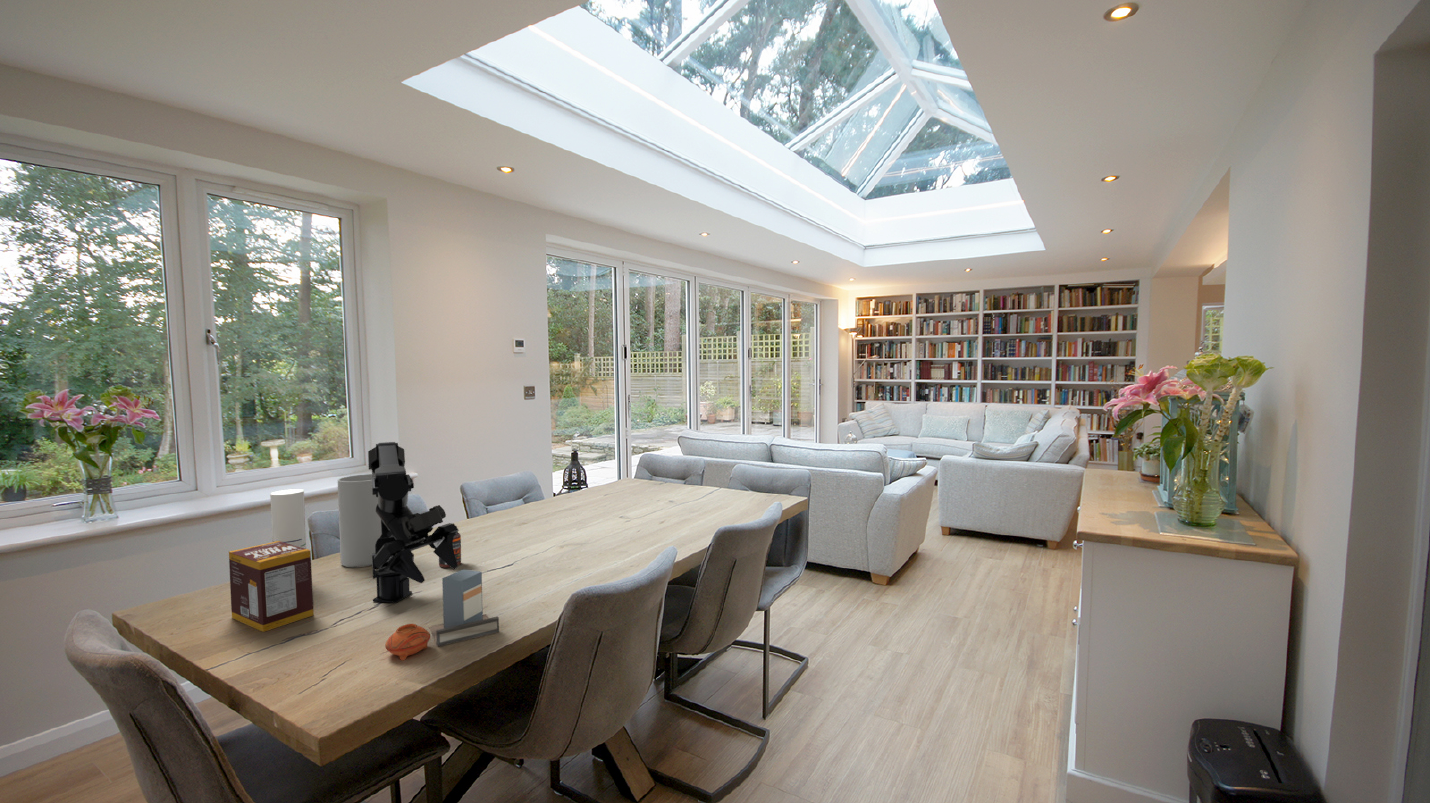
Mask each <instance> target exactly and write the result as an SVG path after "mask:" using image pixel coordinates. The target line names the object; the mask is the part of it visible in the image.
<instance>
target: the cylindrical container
mask: <svg viewBox="0 0 1430 803" xmlns="http://www.w3.org/2000/svg"><path fill="white" fill-rule="evenodd" d="M269 499H270V518H271V536H272V537H271V538H272V539H271V540H272V541H271V542H275V541H281V542H284V543H287V544H291V545H294V546H298V547H301V548H305V549H307V534H306V531H307V530H306V508H305V505H306V504H305V490H304V489H303V488H302V489H301V488H300V489H299V488H297V489H296V488H295V489H293V488H291V489H283V490H276V491H272V492H270V498H269Z"/></svg>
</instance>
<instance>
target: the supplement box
mask: <svg viewBox="0 0 1430 803" xmlns="http://www.w3.org/2000/svg"><path fill="white" fill-rule="evenodd" d="M311 553H312V552H311V549H309V548H306V549H305V548H301V547H298V546H294V545H291V544H287V543H284V542H281V541H275V542H272V541H270V542H267V543H263V544H259V545H258V544H257V545H253V546H249V547H244V548H240V549H239V548H238V549H235V550H230V551H228V560H229V561H228V563H229V564H228V565H229V586H230V587H229V588H230V605H231V606H230V607H231V608H230V609H231V619H234V620H236V621H238V622H240V623H242V624H244V625H247V626H249V627H251V628H253V629H255V630H257V631H260V632H261V633H262V632H263V633H264V632H268V631H271V630H273V629H277V628H280V627H282V626H286V625H289V624H291V623H294V622H297V621H300V620H305V619H306V618H310V617H312V616H314V614H315V613H314V596H313V594H314V593H313V591H314V590H313V576H312V575H313V574H312V573H313V572H312V554H311Z"/></svg>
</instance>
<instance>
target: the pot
mask: <svg viewBox="0 0 1430 803" xmlns="http://www.w3.org/2000/svg"><path fill="white" fill-rule="evenodd" d="M430 640H431V632H430V631H428V629H426V628H425V627H423V626H420V625H418V624H416V623H407V624H405V625H401V626H399V627H397V629H396V630H395V631H394V632H393V633H392V634H391V635H390V636H389V637H388V638H387V640H386V642H385V645H384V647H385V649H386V650H387V652H389V653H390V654H392V655H395V656H398V657H399V659H400V660H401V661H404V660H406V659H408V658H407V657H409V656H412V655H415V654H417V653H419V652H420V651H422V650H426V649H427V648H428V645H429V641H430Z"/></svg>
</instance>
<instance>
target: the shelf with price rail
mask: <svg viewBox="0 0 1430 803" xmlns="http://www.w3.org/2000/svg"><path fill="white" fill-rule="evenodd" d="M499 620H500V619H499V616H494V617H493V616H492V617H489V616H488V615H487V614H486V613H483V620H479V621H475V622H471V623H466V624H462V625H458V626H453V627H449V628H444V623H440V624H435V625H431V626H428V629H429V632H430V635H432V638H433V640H434V643H435V644H436V646H437V648H439V647H443V646H446V645H450V644H456V643H459V642H463V641H467V640H472V639H476V638H481V637H484V636H488V635H492V634H496V633H499V632H500V623H499Z"/></svg>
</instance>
